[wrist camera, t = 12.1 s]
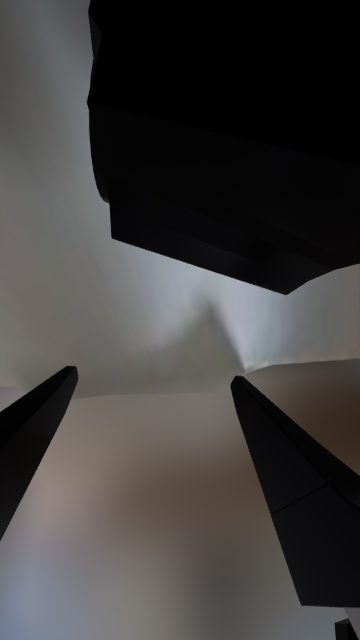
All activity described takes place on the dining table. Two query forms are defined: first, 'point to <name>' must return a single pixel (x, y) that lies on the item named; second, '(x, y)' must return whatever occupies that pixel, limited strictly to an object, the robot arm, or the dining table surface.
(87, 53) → the dining table surface
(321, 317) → the dining table surface
